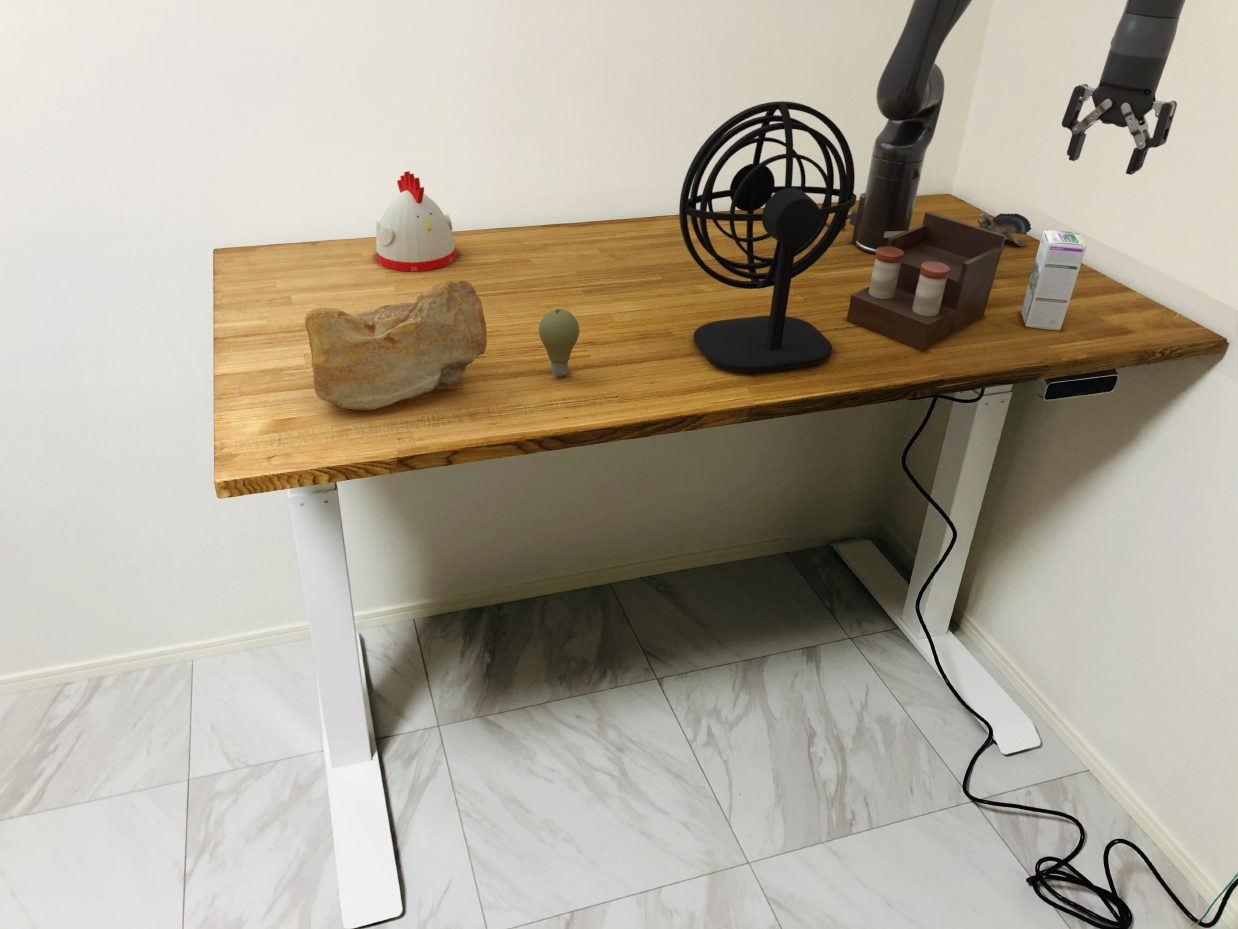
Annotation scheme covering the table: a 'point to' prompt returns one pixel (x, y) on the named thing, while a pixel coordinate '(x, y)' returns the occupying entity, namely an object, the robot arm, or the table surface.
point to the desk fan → (767, 236)
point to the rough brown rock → (396, 347)
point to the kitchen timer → (414, 231)
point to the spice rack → (929, 281)
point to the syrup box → (1052, 279)
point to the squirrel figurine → (1006, 225)
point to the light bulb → (559, 338)
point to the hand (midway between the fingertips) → (1101, 166)
